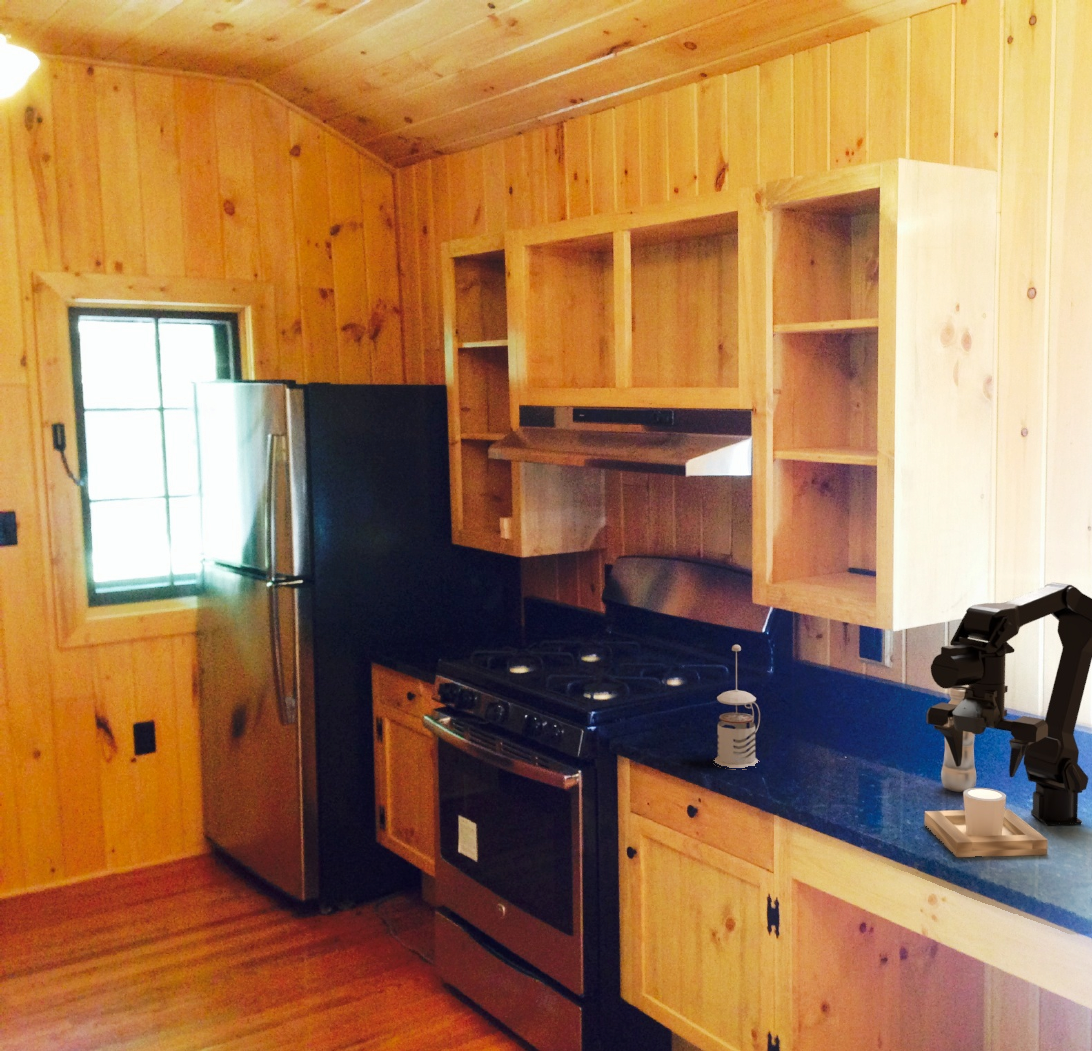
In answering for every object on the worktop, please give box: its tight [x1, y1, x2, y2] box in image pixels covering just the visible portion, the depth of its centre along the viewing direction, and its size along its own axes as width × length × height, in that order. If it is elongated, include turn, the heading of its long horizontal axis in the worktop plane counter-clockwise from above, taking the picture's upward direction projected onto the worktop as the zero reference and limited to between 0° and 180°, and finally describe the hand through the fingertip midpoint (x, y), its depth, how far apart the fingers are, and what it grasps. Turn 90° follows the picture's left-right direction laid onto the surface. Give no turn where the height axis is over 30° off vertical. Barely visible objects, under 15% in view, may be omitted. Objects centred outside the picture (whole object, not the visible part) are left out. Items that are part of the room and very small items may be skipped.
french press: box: [713, 644, 761, 768], centre depth 245 cm, size 10×12×25 cm
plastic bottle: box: [940, 685, 977, 793], centre depth 225 cm, size 6×7×20 cm
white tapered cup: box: [962, 787, 1007, 836], centre depth 200 cm, size 7×7×7 cm
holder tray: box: [924, 808, 1049, 858], centre depth 200 cm, size 15×15×2 cm
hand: (984, 771), depth 199 cm, fingers open, 9 cm apart
